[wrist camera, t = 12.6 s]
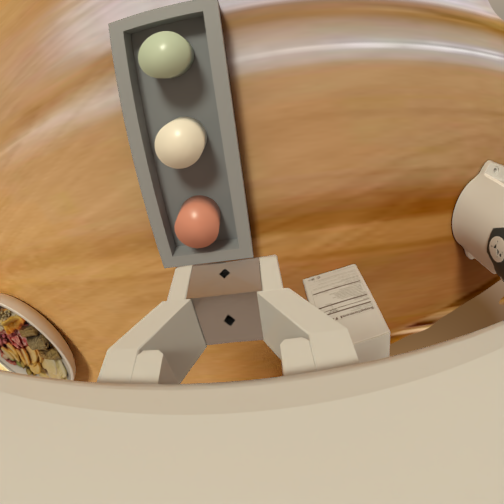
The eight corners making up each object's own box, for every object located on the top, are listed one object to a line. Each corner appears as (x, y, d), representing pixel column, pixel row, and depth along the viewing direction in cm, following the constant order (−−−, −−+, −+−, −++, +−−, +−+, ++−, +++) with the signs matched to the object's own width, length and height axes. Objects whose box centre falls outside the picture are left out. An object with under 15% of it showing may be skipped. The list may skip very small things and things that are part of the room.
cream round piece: (203, 112, 31) (198, 116, 28) (210, 155, 34) (207, 164, 31) (159, 121, 31) (150, 126, 28) (167, 162, 34) (160, 172, 31)
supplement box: (360, 302, 50) (390, 370, 37) (312, 317, 51) (330, 389, 38) (356, 261, 45) (392, 331, 32) (301, 278, 46) (322, 354, 34)
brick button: (216, 192, 37) (214, 205, 33) (223, 229, 39) (222, 245, 36) (176, 198, 37) (169, 212, 33) (184, 234, 39) (180, 250, 36)
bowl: (69, 307, 48) (54, 337, 42) (88, 387, 64) (80, 411, 57) (-33, 270, 43) (-51, 291, 36) (0, 353, 58) (-11, 373, 52)
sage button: (190, 31, 26) (184, 25, 22) (197, 73, 29) (191, 72, 25) (146, 42, 26) (135, 38, 23) (152, 82, 29) (142, 83, 25)
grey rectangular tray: (218, 4, 25) (216, -4, 22) (252, 242, 42) (253, 257, 39) (120, 28, 26) (108, 23, 22) (169, 252, 43) (164, 268, 39)
